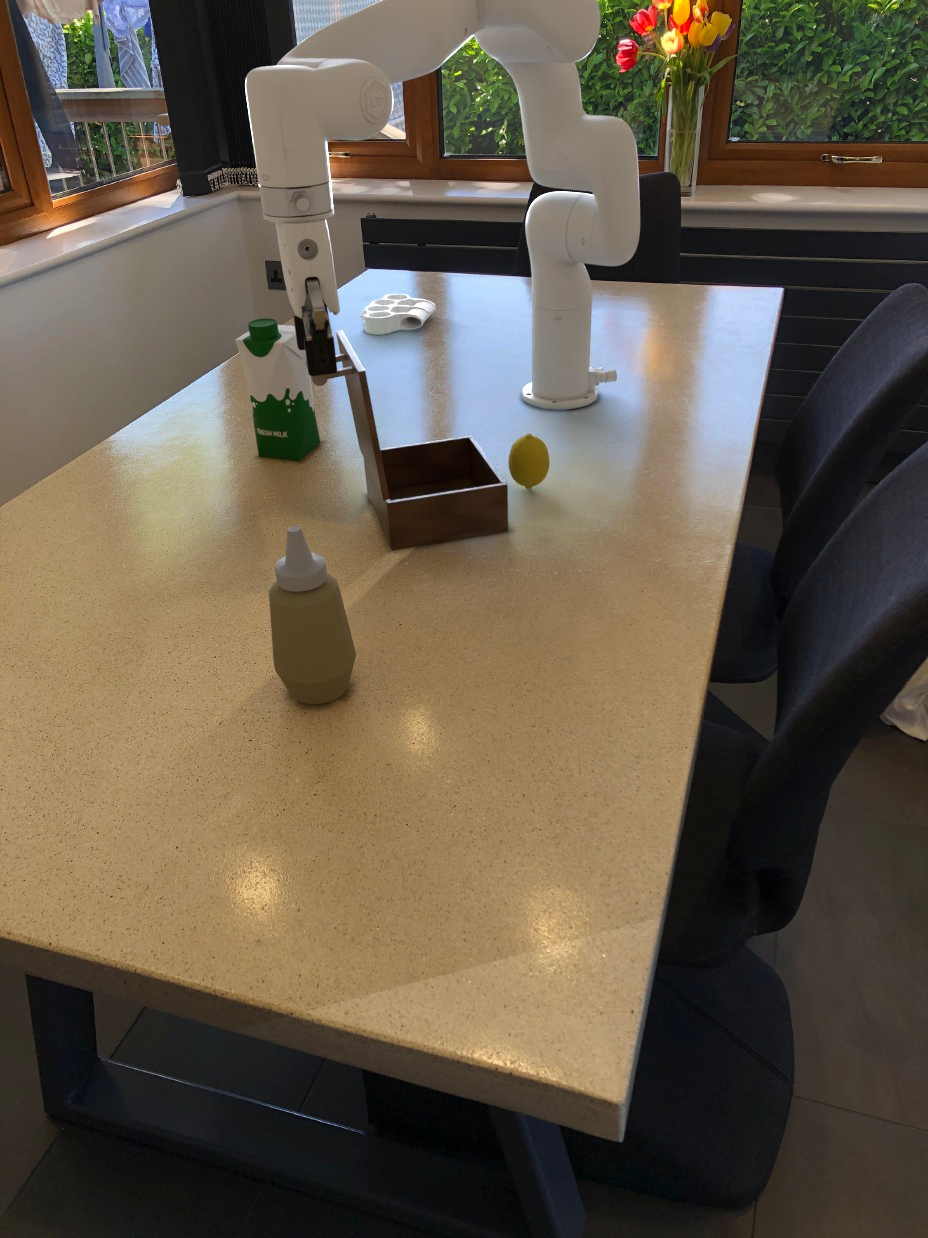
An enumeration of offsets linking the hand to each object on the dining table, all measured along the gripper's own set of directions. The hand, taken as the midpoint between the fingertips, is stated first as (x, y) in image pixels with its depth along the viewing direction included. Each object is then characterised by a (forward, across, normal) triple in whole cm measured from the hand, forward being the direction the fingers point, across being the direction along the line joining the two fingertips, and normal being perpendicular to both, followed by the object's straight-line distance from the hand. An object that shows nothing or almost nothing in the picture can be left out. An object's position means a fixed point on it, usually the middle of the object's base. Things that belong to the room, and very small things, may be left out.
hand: (317, 360), depth 107 cm
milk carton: (+22, +28, +3) cm, 36 cm away
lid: (+7, 0, -5) cm, 9 cm away
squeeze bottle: (+23, -32, +7) cm, 40 cm away
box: (+22, 0, -13) cm, 26 cm away
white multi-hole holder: (+22, +87, -26) cm, 93 cm away
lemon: (+22, +3, -27) cm, 35 cm away
